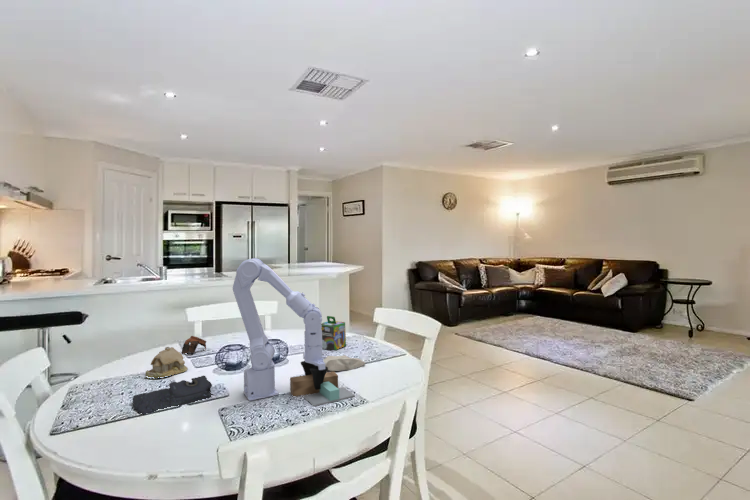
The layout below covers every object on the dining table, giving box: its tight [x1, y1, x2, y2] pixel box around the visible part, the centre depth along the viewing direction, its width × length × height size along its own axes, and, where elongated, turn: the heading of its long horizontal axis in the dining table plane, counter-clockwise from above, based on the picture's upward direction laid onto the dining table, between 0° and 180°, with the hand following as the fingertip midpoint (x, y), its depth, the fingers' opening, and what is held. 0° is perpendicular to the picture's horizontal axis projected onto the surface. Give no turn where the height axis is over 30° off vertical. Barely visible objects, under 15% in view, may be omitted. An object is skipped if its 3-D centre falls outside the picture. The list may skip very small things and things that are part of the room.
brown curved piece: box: [181, 335, 207, 354], centre depth 173 cm, size 12×10×8 cm
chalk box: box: [321, 315, 347, 351], centre depth 179 cm, size 9×9×15 cm
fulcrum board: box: [303, 381, 356, 407], centre depth 123 cm, size 14×8×4 cm, turn 121°
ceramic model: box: [144, 346, 188, 378], centre depth 146 cm, size 14×11×10 cm
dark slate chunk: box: [132, 375, 214, 415], centre depth 122 cm, size 15×22×5 cm
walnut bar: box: [289, 371, 339, 397], centre depth 128 cm, size 15×4×5 cm, turn 113°
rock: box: [323, 355, 366, 372], centre depth 152 cm, size 21×5×15 cm
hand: (314, 385), depth 128 cm, fingers open, 6 cm apart
